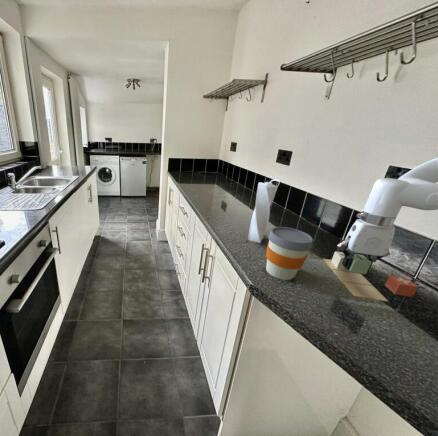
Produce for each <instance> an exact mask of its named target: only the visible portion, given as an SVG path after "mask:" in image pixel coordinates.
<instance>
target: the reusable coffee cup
mask: <svg viewBox="0 0 438 436" xmlns="http://www.w3.org/2000/svg"><path fill="white" fill-rule="evenodd" d="M313 241H314V239H313V237H312V236H311V235H310V234H309V233H307V232H304V231H302V230H300V229H297V228H292V227H288V226H287V227H286V226H276V227H273V228H271V229H270V232H269V234H268V243H267V244H266V245H267V246H266V254H265V257H266V267H265V270H266V272H267V273H268V274H269V275H270V276H272V277H273V278H276V279H279V280H283V281H292V280H293V279H294V278H295V277H296V275H297V273H298V272H299V270H300V269H301V268H302V267H303V265H304V263H305V261H306V259H307V257H308V256H309V255H308V252H309V251H311V249H312V246H313Z"/></svg>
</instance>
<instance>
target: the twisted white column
mask: <svg viewBox="0 0 438 436" xmlns="http://www.w3.org/2000/svg"><path fill="white" fill-rule="evenodd" d="M274 181H275V182H278V183H277V185H275V184H273V182H274ZM280 183H281V181H280V180H279V179H275V178H274V179H271V180H270V181H265V182H258V184H257V190H256V195H255V205H254V208H253V212H252V216H251V219H250V224H249V229H248V230H249V231H248V235H247V241H251V242H255V243H257V244H258V243H259V244H261V243H262V240H263V239H264V237H265V234H266V230H267V228H268V225H269V219H270V215H271V214H270V212H271V206H272V204H273V202H274V199H275V197H276V194H277V190H278V188H279V185H280Z"/></svg>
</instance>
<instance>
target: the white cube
mask: <svg viewBox="0 0 438 436" xmlns="http://www.w3.org/2000/svg"><path fill="white" fill-rule="evenodd" d="M344 257H345V255H344V253H343V252H342V251H334V252H333V256H332V258H331V260H332V261H331V262H332V263H333V265H334V266H335V267H336V268H338V269H345V270H348V269H346V268H345V267H344V266H343V265H342V261H343V259H344Z"/></svg>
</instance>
